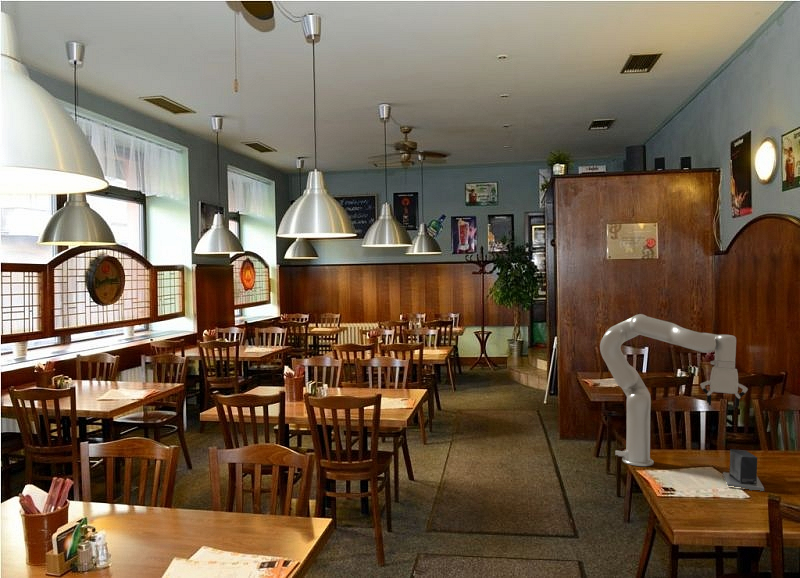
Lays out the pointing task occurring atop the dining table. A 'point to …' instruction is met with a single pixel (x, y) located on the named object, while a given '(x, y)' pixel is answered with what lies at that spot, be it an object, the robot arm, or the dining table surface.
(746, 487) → the slate board
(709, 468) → the dining table surface
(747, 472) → the small box
